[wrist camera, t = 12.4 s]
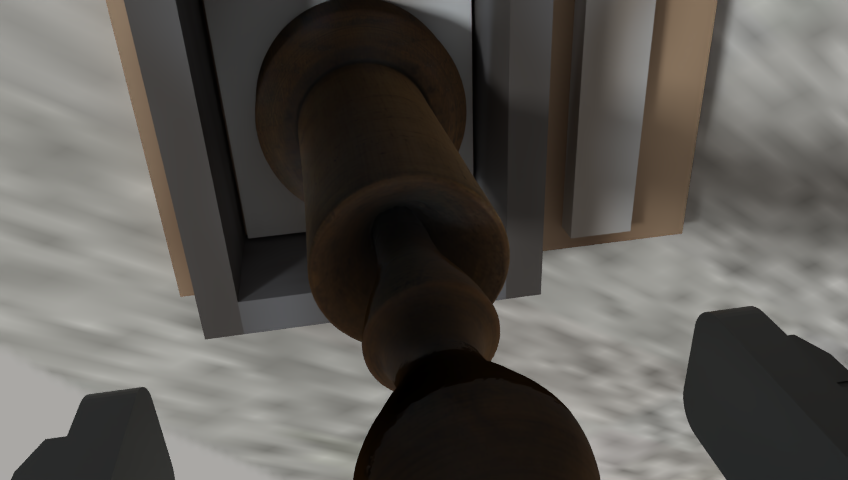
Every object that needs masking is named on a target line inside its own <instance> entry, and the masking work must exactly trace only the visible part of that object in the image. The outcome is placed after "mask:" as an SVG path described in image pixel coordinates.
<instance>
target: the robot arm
mask: <svg viewBox="0 0 848 480" xmlns="http://www.w3.org/2000/svg"><path fill="white" fill-rule="evenodd" d="M683 400H684V408H685V413H686V416H687V419H688V422H689V425H690V427H691V429H692V431H693V432H694V434H695V435H696V437H697V438H698V440H699V441H700V443H701V444H702V445H703V447H704V448H705V450H706V451H707V453H708V454H709V455H710V457H711V458H712V460H713V461H714V463H715V464H716V465H717V467H718V468H719V470H720V471H721V473H722V474H723V476H724V477H725V478H726V480H848V370H847V369H846V368H845V367H844V366H843V365H842V364H841V363H840V362H838V361H837V360H836V359H835V358H834V357H833V356H832V355H831V354H829V353H827V352H826V351H824V350H822V349H820V348H818V347H816V346H814V345H813V344H811V343H809V342H807V341H805V340H803V339H801V338H800V337H798V336H796V335H788V336H787V335H786V334H785V333H784V332H783V331H782V330H781V329H780V328H779V327H778V326H777V325H776V324H775V323H774V322H773V321H772V320H771V319H770V318H769V317H768V316H767V315H766V314H765V313H764V312H762V311H761V310H760V309H758V308H756V307H753V306H747V307H740V308H733V309H725V310H718V311H711V312H704V313H702V314H701V315H700V316H699V317H698V319H697V321H696V324H695V329H694V334H693V340H692V346H691V351H690V357H689V363H688V368H687V374H686V380H685V385H684V392H683ZM11 480H175V477H174V471H173V467H172V463H171V460H170V456H169V453H168V450H167V447H166V443H165V441H164V437H163V433H162V430H161V427H160V424H159V420H158V417H157V414H156V410H155V407H154V404H153V401H152V398H151V395H150V393H149V391H148V390H147V389H146V388H145V387H140V388H132V389H125V390H118V391H110V392H103V393H96V394H89V395H86V396H85V397H84V398H83V399H82V401H81V403H80V405H79V408H78V410H77V413H76V415H75V418H74V420H73V423H72V425H71V428H70V430H69V433H68V435H67V436H66V437H59V438H52V439H45V441H43V442H42V443H41V444H40V446H39V447H38V448H37V449H36V450H35V451H34V452H33V453H32V454H31V455H30V456H29V457H28V458H27V459H26V460H25V462H24V463H23V464H22V465H21V466H20V467H19V468H18V469H17V470H16V471H15V472H14V474H13V477H12V479H11Z"/></svg>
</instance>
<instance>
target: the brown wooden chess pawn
mask: <svg viewBox="0 0 848 480" xmlns="http://www.w3.org/2000/svg"><path fill="white" fill-rule="evenodd" d="M466 116H467V110H466V97H465V91H464V87H463V83H462V80H461V77H460V74H459V72H458V69H457V67H456V65H455V63H454V61H453V59H452V58H451V56H450V55H449V53H448V52H447V50H446V49H445V47H444V46H443V45H442V44H441V42H440V41H439V40H438V39H437V38H436V36H435V35H434V34H433V33H432V32H431V31H430V30H429V29H428V28H427V27H426V26H425V25H424V24H423V23H422V22H421V21H420V20H419V19H417V18H416V17H415V16H413V15H412V14H411V13H409V12H408V11H406V10H404V9H402V8H400V7H398V6H396V5H394V4H391V3H389V2H386V1H382V0H329V1H326V2H323V3H320V4H318V5H315V6H313V7H311V8H309V9H308V10H306V11H304V12H303V13H301V14H300V15H298V16H297V17H296V18H294V19H293V20H292V21H291V22H290V23H288V24H287V25H286V26H285V27H284V28H283V30H282V31H281V32H280V33H279V34H278V35H277V37H276V38H275V40H274V41H273V42H272V44H271V46H270V47H269V49H268V51H267V53H266V55H265V57H264V59H263V62H262V65H261V68H260V71H259V75H258V80H257V87H256V102H255V124H256V131H257V136H258V140H259V143H260V147H261V149H262V152H263V154H264V157H265V159H266V161H267V162H268V164H269V166H270V168H271V169H272V171H273V172H274V174H275V175H276V177H277V178H278V179H279V180H280V182H281V183H282V184H283V185H284V186H285V187H286V188H287V189H288V190H289V191H290V192H291V193H292V194H294V195H295V196H296V197H297V198H299V199H300V200H302V201H303V202H304V204H305V220H306V246H307V269H308V280H309V285H310V289H311V292H312V295H313V298H314V300H315V302H316V304H317V306H318V307H319V309H320V311H321V312H322V313H323V314H324V316H325V317H326V318H327V319H328V320H329V321H330V323H332V324H333V325H334V326H335V327H336V328H337V329H339V330H340V331H342V332H343V333H345V334H347V335H348V336H350V337H352V338H354V339H356V340H358V341H361V342H362V351H363V356H364V360H365V363H366V365H367V367H368V369H369V371H370V372H371V374H372V375H373V376H374V377H375V378H376V380H377V381H379V382H380V383H381V384H382V385H384V386H385V387H387V388H389V389H390V390H392V391H393V393H392V394H391V396H390V397H389V399H388V400H387V402H386V403H385V405H384V407H383V408H382V410H381V412H380V413H379V415H378V416H377V418H376V419H375V421H374V423H373V424H372V426H371V428H370V430H369V432H368V434H367V436H366V438H365V440H364V443H363V445H362V448H361V450H360V453H359V456H358V459H357V463H356V466H355V471H354V478H353V480H600V474H599V471H598V467H597V463H596V460H595V457H594V454H593V452H592V449H591V446H590V444H589V442H588V440H587V438H586V436H585V434H584V432H583V430H582V428H581V427H580V425H579V423H578V422H577V420H576V419H575V417H574V416H573V415H572V413H571V412H570V411H569V409H568V408H567V407H566V406H565V405H564V404H563V403H562V402H561V401H560V400H559V399H558V398H557V397H556V396H554V395H553V394H552V393H551V392H549V391H548V390H547V389H545V388H544V387H542V386H541V385H539V384H538V383H536V382H534V381H533V380H531V379H529V378H527V377H525V376H523V375H521V374H519V373H517V372H514V371H512V370H510V369H508V368H506V367H504V366H501V365H499V364H496V363H493V362H491V360H492V358H493V356H494V354H495V352H496V350H497V347H498V343H499V339H500V323H499V318H498V315H497V312H496V310H495V308H494V306H493V303H494V301H495V300H496V298H497V297H498V295H499V294H500V292H501V290H502V288H503V286H504V283H505V280H506V277H507V274H508V269H509V263H510V248H509V241H508V237H507V233H506V230H505V228H504V225H503V223H502V221H501V219H500V217H499V216H498V214H497V212H496V211H495V209H494V207H493V206H492V204H491V203H490V201H489V200H488V198H487V197H486V195H485V193H484V192H483V190H482V189H481V187H480V186H479V184H478V183H477V181H476V180H475V178H474V176H473V175H472V173H471V172H470V170H469V168H468V167H467V165H466V163H465V162H464V160H463V159H462V157H461V155H460V154H459V149H460V146H461V143H462V140H463V137H464V132H465V126H466Z"/></svg>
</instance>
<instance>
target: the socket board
mask: <svg viewBox="0 0 848 480" xmlns="http://www.w3.org/2000/svg"><path fill="white" fill-rule="evenodd" d="M326 1H329V0H106V3H107V7H108V11H109V15H110V19H111V23H112V27H113V31H114V35H115V39H116V43H117V47H118V51H119V55H120V59H121V63H122V67H123V71H124V75H125V78H126V82H127V86H128V90H129V94H130V98H131V102H132V106H133V110H134V114H135V118H136V122H137V126H138V130H139V134H140V138H141V142H142V146H143V150H144V154H145V158H146V162H147V166H148V170H149V174H150V178H151V181H152V185H153V189H154V193H155V197H156V201H157V205H158V209H159V213H160V217H161V221H162V225H163V229H164V233H165V237H166V241H167V245H168V249H169V253H170V257H171V261H172V265H173V269H174V273H175V277H176V281H177V284H178V288H179V292H180V296H181V297H183V296H191V295H195V299H196V303H197V307H198V311H199V316H200V320H201V324H202V328H203V332H204V336H205V339H212V338H219V337H227V336H234V335H241V334H249V333H256V332H264V331H271V330H279V329H286V328H293V327H301V326H308V325H316V324H323V323H330V321H329V320H328V319H327V318H326V317H325V316H324V314H323V313H322V312H321V311H320V309H319V307H318V306H317V304H316V302H315V300H314V298H313V295H312V292H311V289H310V285H309V280H308V269H307V246H306V220H305V204H304V202H303V201H302V200H300V199H299V198H297V197H296V196H295V195H294V194H292V193H291V192H290V191H289V190H288V189H287V188H286V187H285V186H284V185H283V184H282V183H281V182H280V180H279V179H278V178H277V177H276V175H275V174H274V172H273V171H272V169H271V168H270V166H269V164H268V162H267V161H266V159H265V157H264V154H263V152H262V149H261V147H260V143H259V140H258V136H257V131H256V124H255V102H256V87H257V80H258V75H259V71H260V68H261V65H262V62H263V59H264V57H265V55H266V53H267V51H268V49H269V47H270V46H271V44H272V42H273V41H274V40H275V38H276V37H277V35H278V34H279V33H280V32H281V31H282V30H283V28H284V27H285V26H286V25H287V24H288V23H290V22H291V21H292V20H293V19H294V18H296V17H297V16H298V15H300V14H301V13H303V12H304V11H306V10H308V9H309V8H311V7H313V6H315V5H318V4H320V3H323V2H326ZM382 1H386V2H389V3H391V4H394V5H396V6H398V7H400V8H402V9H404V10H406V11H408V12H409V13H411V14H412V15H413V16H415V17H416V18H417V19H419V20H420V21H421V22H422V23H423V24H424V25H425V26H426V27H427V28H428V29H429V30H430V31H431V32H432V33H433V34H434V35H435V36H436V38H437V39H438V40H439V41H440V42H441V44H442V45H443V46H444V47H445V49H446V50H447V52H448V53H449V55H450V56H451V58H452V59H453V61H454V63H455V65H456V67H457V69H458V72H459V74H460V77H461V80H462V83H463V87H464V91H465V97H466V110H467V116H466V126H465V132H464V137H463V140H462V143H461V146H460V149H459V154H460V155H461V157H462V159H463V160H464V162H465V163H466V165H467V167H468V168H469V170H470V172H471V173H472V175H473V176H474V178H475V180H476V181H477V183H478V184H479V186H480V187H481V189H482V190H483V192H484V193H485V195H486V197H487V198H488V200H489V201H490V203H491V204H492V206H493V207H494V209H495V211H496V212H497V214H498V216H499V217H500V219H501V221H502V223H503V225H504V228H505V230H506V233H507V237H508V241H509V248H510V263H509V269H508V274H507V277H506V280H505V283H504V286H503V288H502V290H501V292H500V294H499V295H498V297H497V298H496V300H501V299H509V298H516V297H524V296H531V295H539V294H541V276H542V253H543V251H547V250H555V249H563V248H571V247H579V246H587V245H594V244H602V243H610V242H618V241H626V240H634V239H642V238H650V237H658V236H666V235H674V234H682V230H683V224H684V217H685V210H686V204H687V197H688V191H689V184H690V178H691V171H692V165H693V158H694V151H695V145H696V138H697V132H698V125H699V119H700V112H701V105H702V99H703V92H704V86H705V79H706V73H707V66H708V59H709V53H710V46H711V40H712V33H713V27H714V20H715V14H716V7H717V0H382Z"/></svg>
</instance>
